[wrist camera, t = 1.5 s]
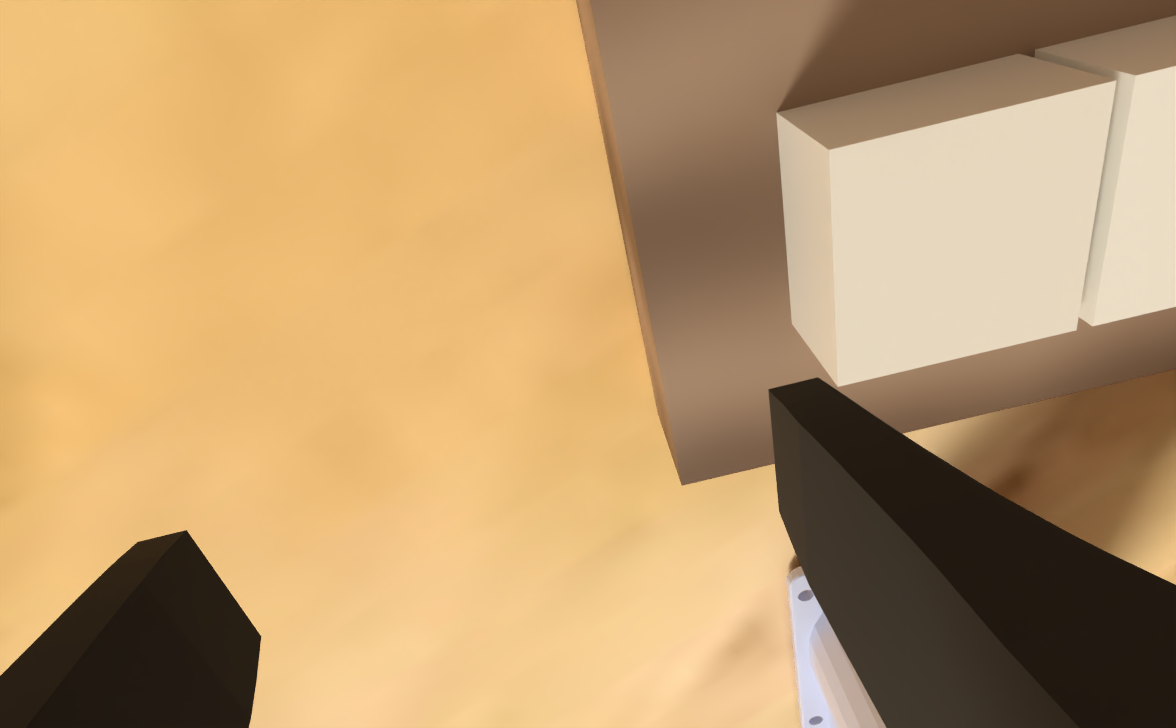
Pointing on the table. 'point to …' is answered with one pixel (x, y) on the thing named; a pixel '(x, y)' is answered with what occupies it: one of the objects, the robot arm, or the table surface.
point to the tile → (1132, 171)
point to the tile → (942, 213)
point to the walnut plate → (755, 204)
